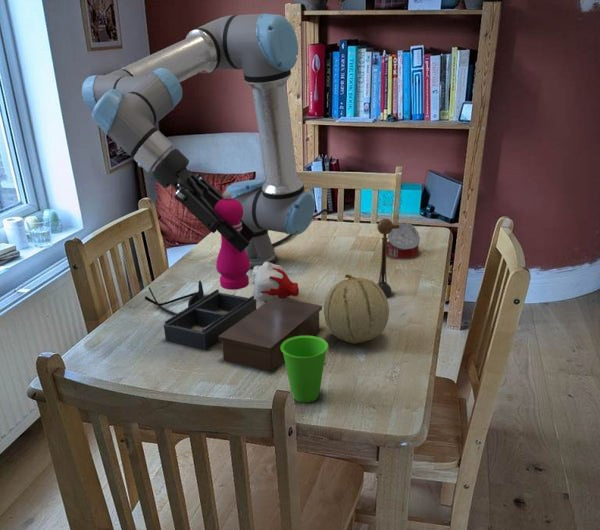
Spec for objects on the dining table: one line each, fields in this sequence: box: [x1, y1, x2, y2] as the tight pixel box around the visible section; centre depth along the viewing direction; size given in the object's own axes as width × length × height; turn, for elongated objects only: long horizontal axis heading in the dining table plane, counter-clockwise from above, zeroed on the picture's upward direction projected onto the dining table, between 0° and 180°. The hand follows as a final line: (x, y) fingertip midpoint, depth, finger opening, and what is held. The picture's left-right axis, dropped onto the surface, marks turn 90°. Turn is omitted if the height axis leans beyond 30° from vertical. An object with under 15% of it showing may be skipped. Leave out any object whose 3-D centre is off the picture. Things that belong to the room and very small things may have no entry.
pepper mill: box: [214, 190, 251, 291], centre depth 134 cm, size 7×7×20 cm
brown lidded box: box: [218, 297, 323, 373], centre depth 143 cm, size 24×13×6 cm, turn 152°
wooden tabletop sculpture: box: [376, 218, 399, 298], centre depth 163 cm, size 6×5×20 cm
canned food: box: [386, 222, 421, 260], centre depth 195 cm, size 11×10×10 cm
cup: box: [280, 335, 329, 403], centre depth 122 cm, size 9×9×11 cm
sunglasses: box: [144, 280, 205, 316], centre depth 163 cm, size 17×14×5 cm
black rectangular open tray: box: [163, 289, 257, 351], centre depth 152 cm, size 22×12×5 cm, turn 152°
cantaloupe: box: [323, 273, 390, 345], centre depth 142 cm, size 15×15×15 cm
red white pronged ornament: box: [251, 262, 300, 303], centre depth 165 cm, size 9×11×15 cm
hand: (248, 243), depth 134 cm, fingers closed on pepper mill, 5 cm apart
